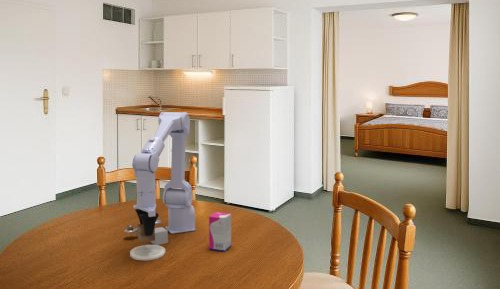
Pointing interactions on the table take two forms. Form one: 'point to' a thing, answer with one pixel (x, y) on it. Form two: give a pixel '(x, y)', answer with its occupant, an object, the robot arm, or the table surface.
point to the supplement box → (220, 231)
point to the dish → (147, 252)
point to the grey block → (160, 236)
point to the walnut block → (142, 236)
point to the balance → (131, 228)
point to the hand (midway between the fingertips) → (147, 232)
